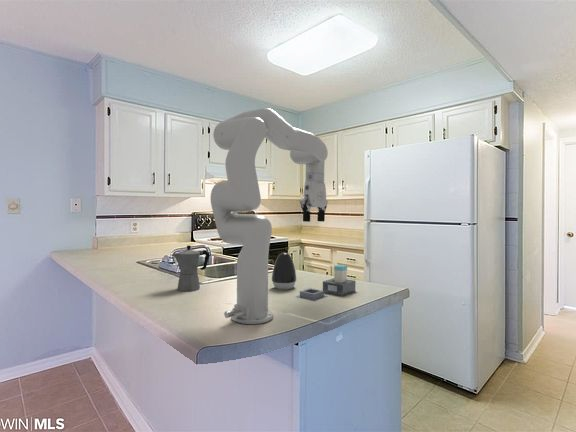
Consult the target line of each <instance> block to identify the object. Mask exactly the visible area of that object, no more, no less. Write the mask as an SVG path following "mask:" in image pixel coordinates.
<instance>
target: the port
mask: <svg viewBox="0 0 576 432" xmlns="http://www.w3.org/2000/svg"><path fill="white" fill-rule="evenodd" d="M322 291H324V294H330V295H335V296H338V297H339V296H340V297H345V296H347V295H349V294H352V293H354V292H356V280H353V279H347V281H346V282H343V283H338V282H334V277H332V278H330V279H326V280H324V281H322Z"/></svg>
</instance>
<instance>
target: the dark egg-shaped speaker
mask: <svg viewBox="0 0 576 432" xmlns="http://www.w3.org/2000/svg"><path fill="white" fill-rule="evenodd" d="M295 267H296V266H295V263H294V260H293V259H292V256H291V255H290V254H289V253H288V252H281V253H279V254H278V256H277V258H276V259H275V261H274V265H273V268H272V273H271V274H272V275H271V282H272V284H273V286H274V288H275V289H276V290H282V291H283V290H284V291H285V290H290V289H293V288H294V287H295V285H296V282H297V272H296V268H295Z"/></svg>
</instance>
